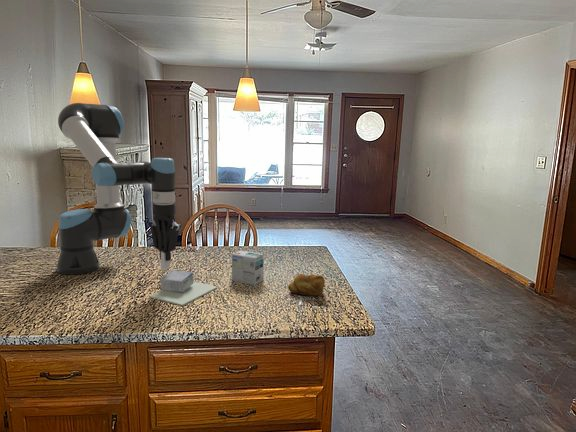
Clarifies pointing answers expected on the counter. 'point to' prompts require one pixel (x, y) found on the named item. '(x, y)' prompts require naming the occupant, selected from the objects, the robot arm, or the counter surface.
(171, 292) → the cutting board
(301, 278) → the bread roll
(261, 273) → the light bulb box
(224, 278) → the counter surface
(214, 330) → the counter surface
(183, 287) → the medicine box
